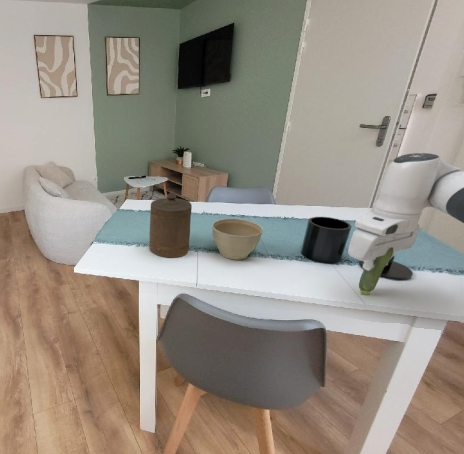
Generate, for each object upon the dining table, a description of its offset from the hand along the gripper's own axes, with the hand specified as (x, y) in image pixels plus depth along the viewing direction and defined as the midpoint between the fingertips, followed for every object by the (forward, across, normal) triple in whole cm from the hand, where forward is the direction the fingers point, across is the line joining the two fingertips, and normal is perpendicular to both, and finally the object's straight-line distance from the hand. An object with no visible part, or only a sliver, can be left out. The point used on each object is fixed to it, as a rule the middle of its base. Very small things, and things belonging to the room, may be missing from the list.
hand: (374, 267), depth 78 cm
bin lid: (+8, -18, -6) cm, 21 cm away
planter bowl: (+9, +17, -33) cm, 38 cm away
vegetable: (+9, 0, 0) cm, 9 cm away
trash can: (+8, -9, -20) cm, 23 cm away
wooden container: (+9, +36, -46) cm, 59 cm away
